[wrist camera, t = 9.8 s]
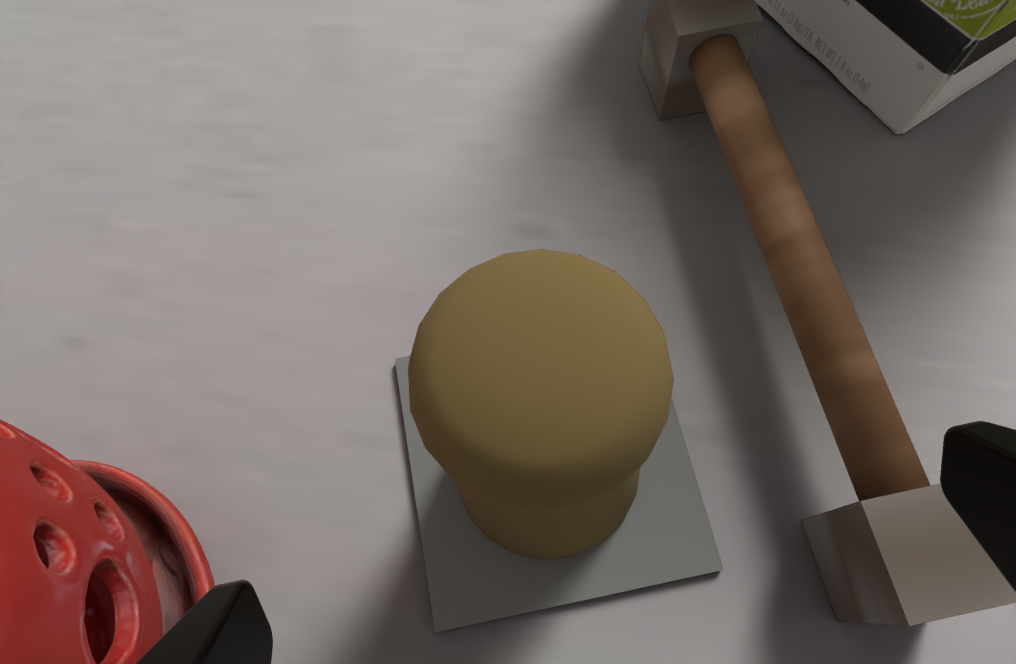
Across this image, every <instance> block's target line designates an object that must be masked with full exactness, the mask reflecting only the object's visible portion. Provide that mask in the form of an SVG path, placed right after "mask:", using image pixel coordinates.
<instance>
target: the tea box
mask: <svg viewBox="0 0 1016 664" xmlns="http://www.w3.org/2000/svg"><path fill="white" fill-rule="evenodd" d="M755 2H756V3H757V4H758V5H759V6H760V7H762V8H763V9H764V10H765V11H766V12H767V13H768V14H769V15H770V16H771V17H773V18H774V19H775V20H776V21H777V22H778V23H779V24H780V25H781V26H782V27H783V28H784V30H785V31H786V32H787V33H788V34H789V35H790V36H791V37H792V38H793V39H794V40H795V41H797V42H798V43H799V44H800V45H801V46H802V47H803V48H805V49H806V50H807V51H808V52H810V53H811V54H812V55H813V56H815V57H816V58H817V59H818V60H819V61H820V62H821V63H822V64H823V65H825V66H826V67H827V68H828V69H829V70H830V71H831V72H832V73H833V74H834V75H835V76H836V77H837V79H838V80H839V81H840V82H841V83H842V84H843V85H844V86H845V87H846V88H847V89H848V90H849V91H850V92H851V93H852V94H853V95H855V96H856V97H857V98H858V99H859V100H860V101H861V102H862V103H863V104H865V105H866V106H867V107H868V108H869V109H870V110H871V111H872V112H873V113H874V114H875V115H876V116H877V117H878V118H879V119H880V120H881V121H882V122H883V123H884V124H885V125H886V126H888V127H889V128H890V129H891V130H892V131H893V132H894V133H895V134H902V133H905V132H906V131H908V130H910V129H911V128H913V127H914V126H916V125H917V124H919V123H920V122H922V121H923V120H925V119H927V118H928V117H930V116H931V115H933V114H934V113H936V112H937V111H939V110H940V109H941V108H943V107H944V106H946V105H947V104H948V103H950V102H951V101H953V100H954V99H956V98H957V97H959V96H960V95H962V94H963V93H965V92H966V91H968V90H970V89H971V88H973V87H975V86H976V85H978V84H980V83H981V82H983V81H984V80H986V79H988V78H989V77H991V76H992V75H994V74H995V73H996V72H998V71H999V70H1001V69H1002V68H1004V67H1005V66H1006V65H1008V64H1009V63H1011V62H1012V61H1014V60H1015V59H1016V0H755Z"/></svg>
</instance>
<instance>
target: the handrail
mask: <svg viewBox="0 0 1016 664" xmlns="http://www.w3.org/2000/svg"><path fill="white" fill-rule="evenodd" d="M762 22H763V17H762V15H761V13H760V11H759V9H758V6H757V4H756V2H755V0H650V4H649V10H648V16H647V22H646V28H645V34H644V40H643V46H642V52H641V58H640V67H641V70H642V73H643V75H644V78H645V81H646V84H647V87H648V90H649V92H650V95H651V98H652V101H653V104H654V106H655V109H656V112H657V115H658V118H659V120H664V119H669V118H674V117H679V116H683V115H688V114H693V113H698V112H703V111H707V112H708V115H709V118H710V120H711V123H712V125H713V128H714V130H715V133H716V136H717V138H718V141H719V143H720V146H721V148H722V151H723V153H724V156H725V159H726V161H727V164H728V166H729V169H730V171H731V174H732V177H733V179H734V182H735V184H736V187H737V189H738V192H739V194H740V197H741V200H742V202H743V205H744V207H745V210H746V212H747V215H748V218H749V220H750V223H751V225H752V228H753V230H754V233H755V235H756V238H757V241H758V243H759V246H760V248H761V251H762V253H763V256H764V259H765V261H766V264H767V266H768V269H769V271H770V274H771V276H772V279H773V282H774V284H775V287H776V289H777V292H778V294H779V297H780V299H781V302H782V305H783V307H784V310H785V312H786V315H787V317H788V320H789V323H790V325H791V328H792V330H793V333H794V335H795V338H796V340H797V343H798V346H799V348H800V351H801V353H802V356H803V358H804V361H805V364H806V366H807V369H808V371H809V374H810V376H811V379H812V381H813V384H814V387H815V389H816V392H817V394H818V397H819V399H820V402H821V405H822V407H823V410H824V412H825V415H826V417H827V420H828V422H829V425H830V428H831V430H832V433H833V435H834V438H835V440H836V443H837V446H838V448H839V451H840V453H841V456H842V458H843V461H844V463H845V466H846V469H847V471H848V474H849V476H850V479H851V481H852V484H853V487H854V489H855V492H856V494H857V497H858V499H859V502H856V503H853V504H850V505H846V506H843V507H840V508H837V509H834V510H831V511H828V512H825V513H822V514H819V515H815V516H812V517H809V518H806V519H803V520H801V521H802V524H803V527H804V529H805V532H806V535H807V538H808V541H809V543H810V546H811V549H812V552H813V555H814V558H815V560H816V563H817V566H818V569H819V572H820V574H821V577H822V580H823V583H824V586H825V589H826V591H827V594H828V597H829V600H830V603H831V606H832V608H833V611H834V614H835V617H836V620H837V621H842V622H857V623H872V624H887V625H901V626H912V625H917V624H921V623H926V622H930V621H935V620H939V619H944V618H948V617H953V616H957V615H962V614H966V613H971V612H975V611H980V610H984V609H989V608H994V607H998V606H1003V605H1007V604H1012V603H1016V592H1015V591H1014V589H1013V588H1012V587H1011V586H1010V584H1009V583H1008V582H1007V580H1006V579H1005V578H1004V576H1003V575H1002V574H1001V572H1000V571H999V569H998V568H997V567H996V565H995V564H994V563H993V561H992V560H991V559H990V557H989V556H988V555H987V553H986V552H985V551H984V549H983V548H982V547H981V545H980V544H979V542H978V541H977V540H976V538H975V537H974V536H973V534H972V533H971V532H970V530H969V529H968V528H967V526H966V525H965V524H964V522H963V521H962V520H961V518H960V517H959V515H958V514H957V513H956V511H955V510H954V509H953V507H952V506H951V505H950V503H949V502H948V500H947V499H946V497H945V495H944V493H943V491H942V488H941V484H937V485H932V486H931V485H930V483H929V481H928V479H927V476H926V474H925V472H924V469H923V467H922V465H921V462H920V460H919V458H918V455H917V453H916V451H915V449H914V446H913V444H912V442H911V439H910V437H909V435H908V432H907V430H906V428H905V425H904V423H903V421H902V419H901V416H900V414H899V412H898V409H897V407H896V405H895V402H894V400H893V398H892V395H891V393H890V391H889V389H888V386H887V384H886V382H885V379H884V377H883V375H882V372H881V370H880V368H879V365H878V363H877V361H876V359H875V356H874V354H873V352H872V349H871V347H870V345H869V342H868V340H867V338H866V335H865V333H864V331H863V329H862V326H861V324H860V322H859V319H858V317H857V315H856V312H855V310H854V308H853V305H852V303H851V301H850V299H849V296H848V294H847V292H846V289H845V287H844V285H843V282H842V280H841V278H840V275H839V273H838V271H837V269H836V266H835V264H834V262H833V259H832V257H831V255H830V252H829V250H828V248H827V245H826V243H825V241H824V238H823V236H822V234H821V232H820V229H819V227H818V225H817V222H816V220H815V218H814V215H813V213H812V211H811V208H810V206H809V204H808V202H807V199H806V197H805V195H804V192H803V190H802V188H801V185H800V183H799V181H798V178H797V176H796V174H795V172H794V169H793V167H792V165H791V162H790V160H789V158H788V155H787V153H786V151H785V148H784V146H783V144H782V142H781V139H780V137H779V135H778V132H777V130H776V128H775V125H774V123H773V121H772V118H771V116H770V114H769V112H768V109H767V107H766V105H765V102H764V100H763V98H762V95H761V93H760V91H759V88H758V86H757V84H756V82H755V79H754V77H753V75H752V72H751V70H750V68H749V65H748V63H747V62H748V60H749V57H750V54H751V52H752V49H753V46H754V43H755V41H756V38H757V35H758V33H759V30H760V27H761V24H762Z"/></svg>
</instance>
